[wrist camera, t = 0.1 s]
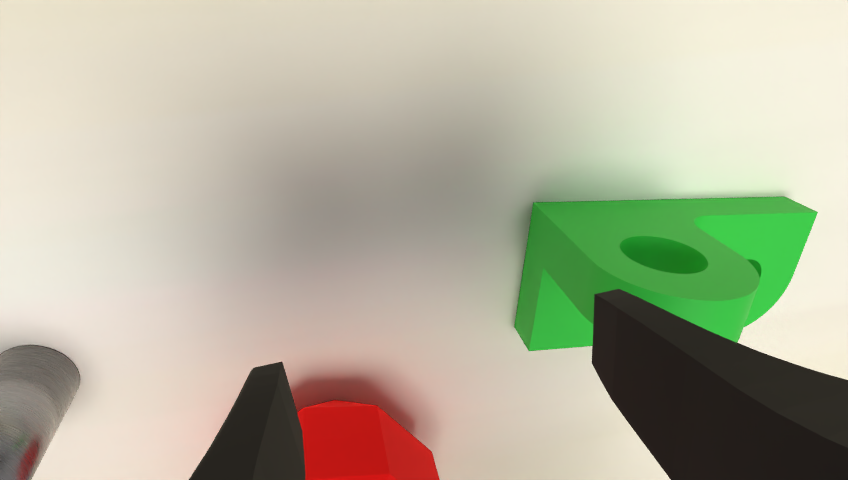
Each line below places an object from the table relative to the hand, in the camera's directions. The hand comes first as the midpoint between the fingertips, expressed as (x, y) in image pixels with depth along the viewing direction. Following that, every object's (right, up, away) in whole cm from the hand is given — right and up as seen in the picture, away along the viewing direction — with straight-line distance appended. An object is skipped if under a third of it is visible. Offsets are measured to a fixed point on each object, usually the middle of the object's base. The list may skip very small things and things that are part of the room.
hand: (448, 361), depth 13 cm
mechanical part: (+9, +2, +13) cm, 16 cm away
